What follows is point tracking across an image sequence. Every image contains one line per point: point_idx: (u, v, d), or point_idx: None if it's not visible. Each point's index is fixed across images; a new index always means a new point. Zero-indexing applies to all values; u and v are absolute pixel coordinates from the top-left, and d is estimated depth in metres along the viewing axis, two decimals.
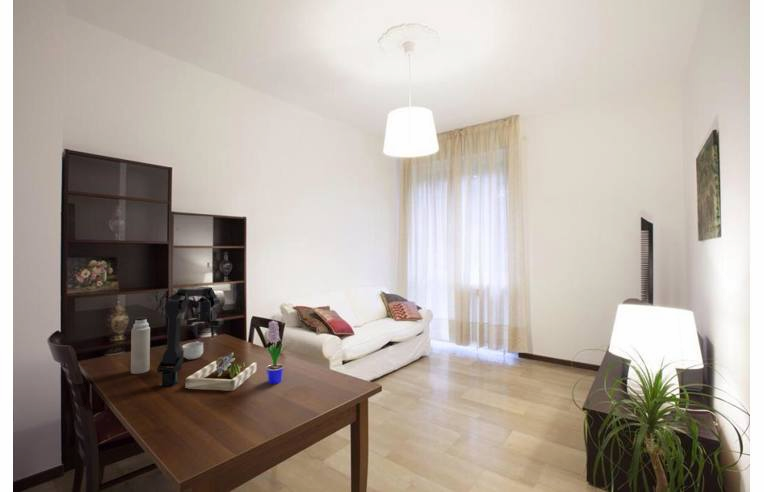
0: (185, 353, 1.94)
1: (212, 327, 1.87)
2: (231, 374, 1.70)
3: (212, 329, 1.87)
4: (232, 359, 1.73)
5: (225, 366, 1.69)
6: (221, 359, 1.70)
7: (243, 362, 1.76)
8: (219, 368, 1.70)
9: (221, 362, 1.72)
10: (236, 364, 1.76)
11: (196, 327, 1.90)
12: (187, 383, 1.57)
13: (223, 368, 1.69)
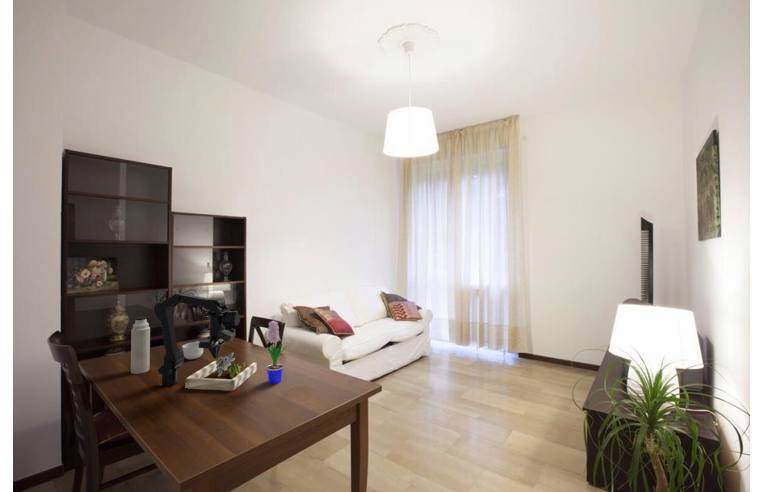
0: (185, 353, 1.94)
1: None
2: (231, 374, 1.70)
3: None
4: (232, 359, 1.73)
5: (225, 366, 1.69)
6: (221, 359, 1.70)
7: (243, 362, 1.76)
8: (219, 368, 1.70)
9: (221, 362, 1.72)
10: (236, 364, 1.76)
11: None
12: (187, 383, 1.57)
13: (223, 368, 1.69)
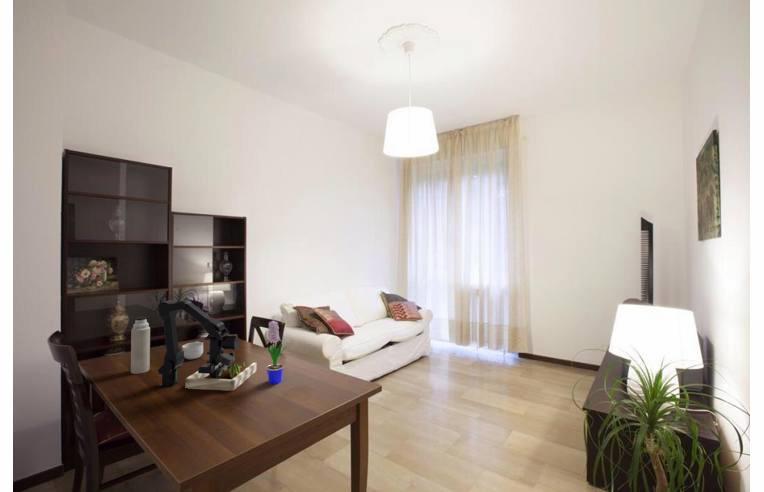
0: (185, 353, 1.94)
1: None
2: (231, 374, 1.70)
3: None
4: None
5: (225, 366, 1.69)
6: None
7: (243, 362, 1.76)
8: None
9: None
10: (236, 364, 1.76)
11: None
12: (187, 383, 1.57)
13: (223, 368, 1.69)
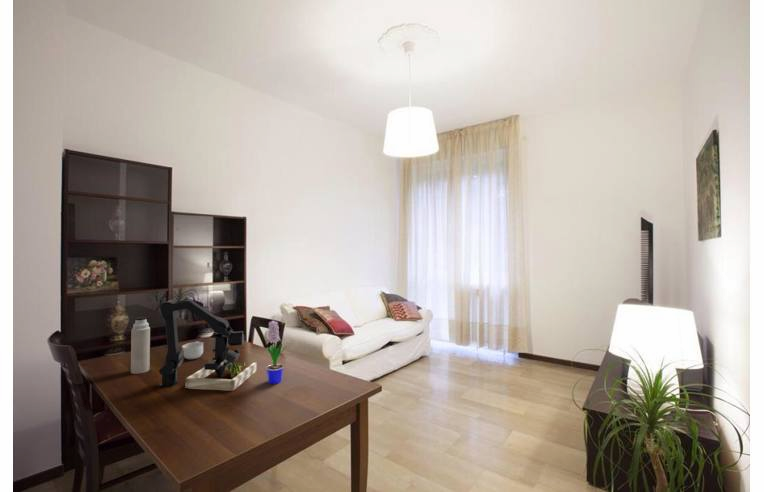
0: (185, 353, 1.94)
1: None
2: (232, 374, 1.70)
3: None
4: None
5: (226, 366, 1.70)
6: None
7: (243, 362, 1.77)
8: None
9: None
10: (236, 364, 1.76)
11: None
12: (187, 383, 1.57)
13: None
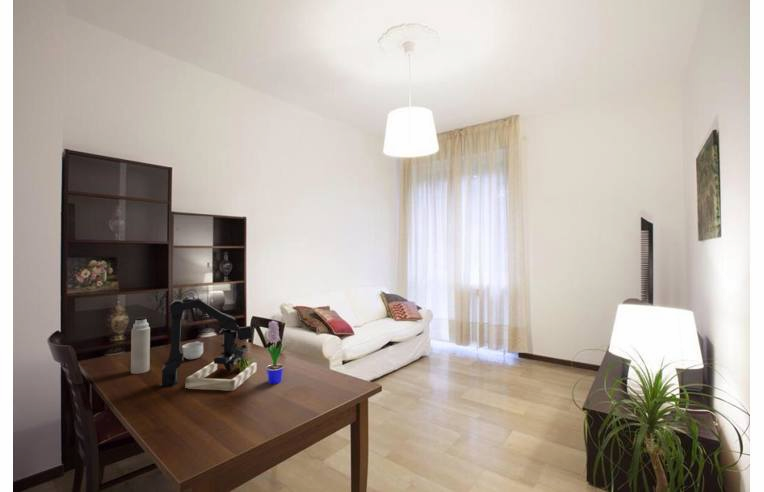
0: (185, 353, 1.94)
1: None
2: (240, 368, 1.78)
3: None
4: None
5: (235, 360, 1.77)
6: None
7: (251, 357, 1.84)
8: None
9: None
10: (245, 359, 1.84)
11: None
12: (187, 383, 1.57)
13: (233, 362, 1.77)
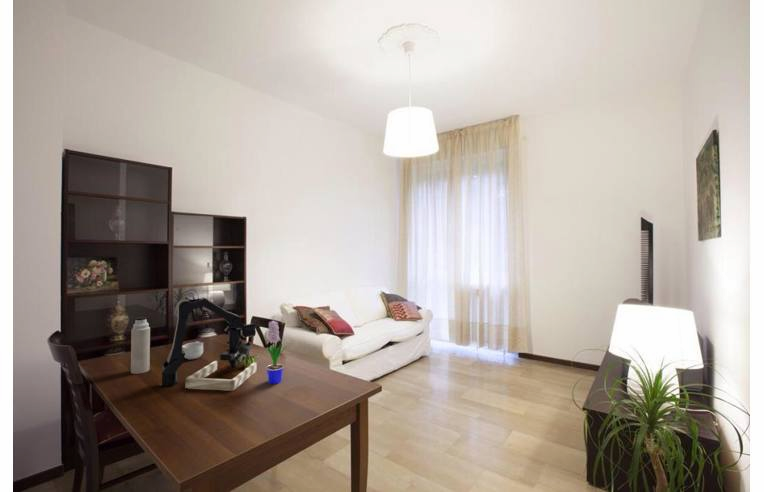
0: (185, 353, 1.94)
1: None
2: (245, 365, 1.83)
3: None
4: None
5: (240, 357, 1.83)
6: None
7: None
8: None
9: None
10: (251, 356, 1.89)
11: None
12: (187, 383, 1.57)
13: (238, 359, 1.82)
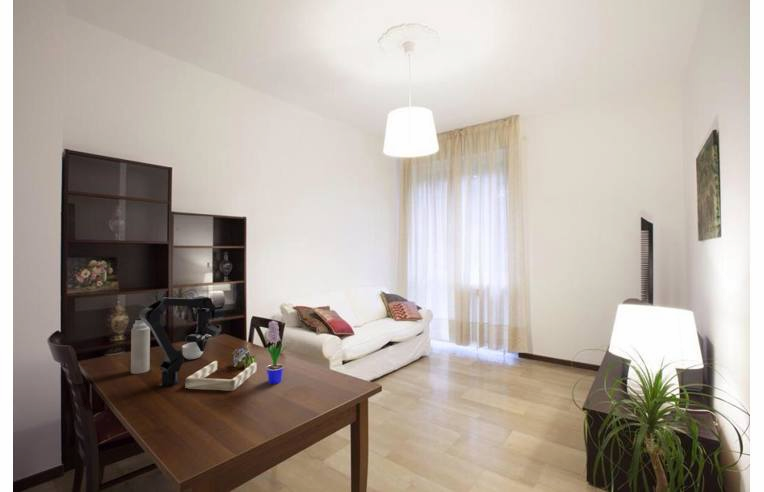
0: (185, 353, 1.94)
1: None
2: (245, 365, 1.83)
3: None
4: (247, 351, 1.86)
5: (240, 357, 1.83)
6: None
7: None
8: (235, 359, 1.83)
9: (237, 353, 1.86)
10: (251, 356, 1.89)
11: None
12: (187, 383, 1.57)
13: (238, 359, 1.82)
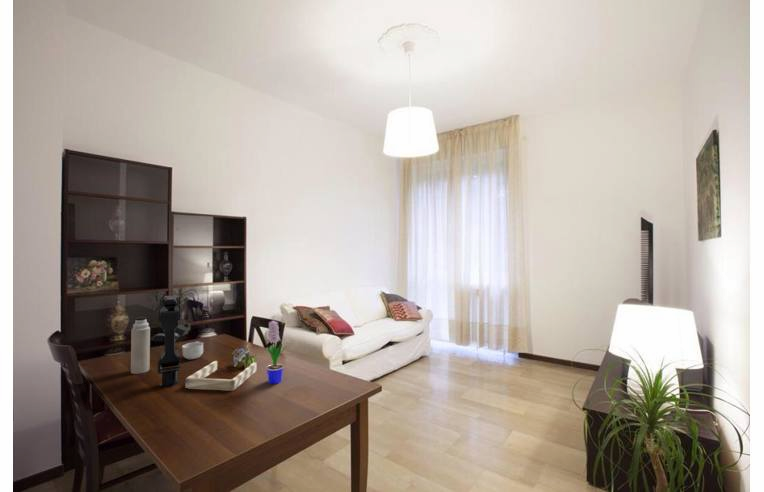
0: (185, 353, 1.94)
1: None
2: (245, 365, 1.83)
3: None
4: (247, 351, 1.86)
5: (240, 357, 1.83)
6: None
7: None
8: (235, 359, 1.83)
9: (237, 353, 1.86)
10: (251, 356, 1.89)
11: None
12: (187, 383, 1.57)
13: (238, 359, 1.82)
